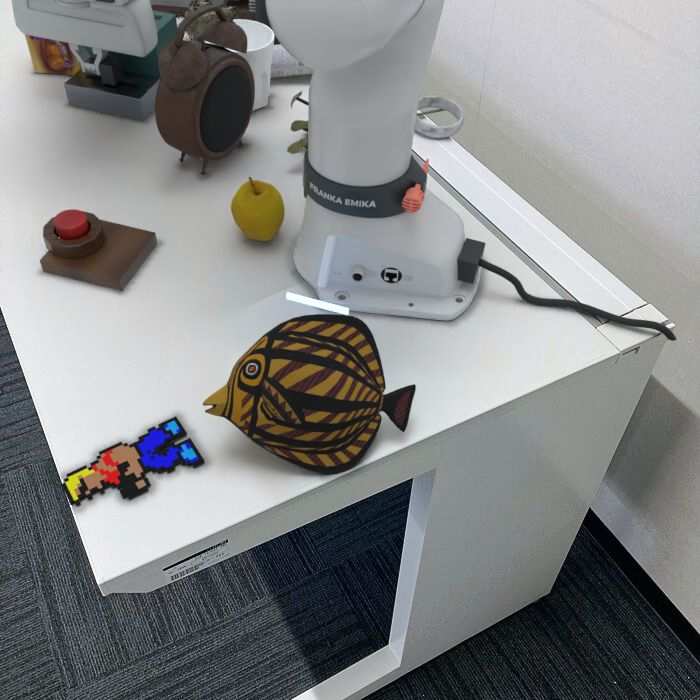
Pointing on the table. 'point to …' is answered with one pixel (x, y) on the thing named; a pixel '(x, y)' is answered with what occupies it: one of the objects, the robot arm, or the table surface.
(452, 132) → the ring
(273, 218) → the apple
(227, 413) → the decorative fish sculpture
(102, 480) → the pixel art figurine
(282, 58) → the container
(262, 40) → the cup
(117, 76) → the slider
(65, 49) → the candy box
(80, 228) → the button
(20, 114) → the table surface
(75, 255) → the block
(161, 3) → the model house
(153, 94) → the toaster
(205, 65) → the alarm clock
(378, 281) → the robot arm
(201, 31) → the rock
